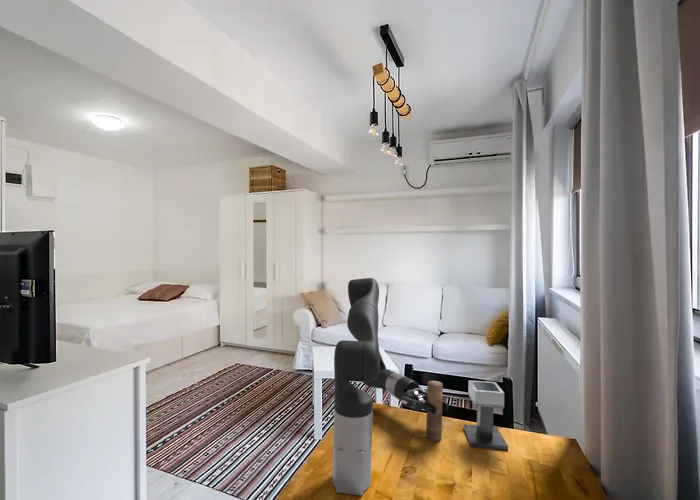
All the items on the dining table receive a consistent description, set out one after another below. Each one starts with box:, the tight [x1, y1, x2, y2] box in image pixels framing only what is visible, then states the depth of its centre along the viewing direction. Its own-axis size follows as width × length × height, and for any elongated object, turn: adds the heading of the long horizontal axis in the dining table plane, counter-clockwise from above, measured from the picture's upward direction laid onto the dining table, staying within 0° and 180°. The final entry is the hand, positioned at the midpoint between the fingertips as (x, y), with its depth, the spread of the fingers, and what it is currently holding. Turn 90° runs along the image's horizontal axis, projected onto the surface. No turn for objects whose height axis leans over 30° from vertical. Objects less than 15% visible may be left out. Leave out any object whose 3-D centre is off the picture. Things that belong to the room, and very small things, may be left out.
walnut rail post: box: [425, 380, 444, 443], centre depth 98 cm, size 4×4×16 cm
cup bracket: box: [462, 380, 509, 451], centre depth 98 cm, size 10×10×16 cm
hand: (441, 408), depth 96 cm, fingers closed on walnut rail post, 4 cm apart
